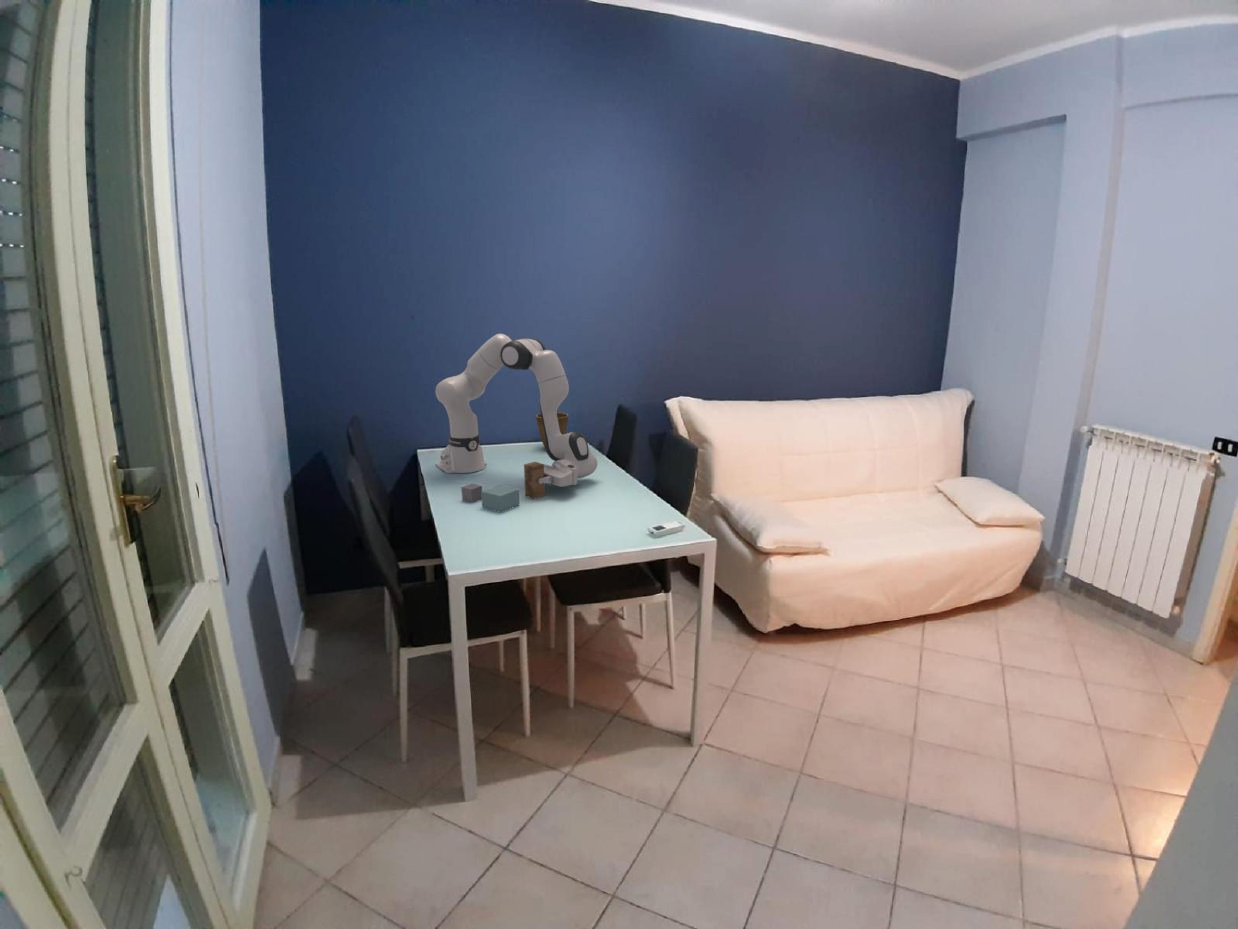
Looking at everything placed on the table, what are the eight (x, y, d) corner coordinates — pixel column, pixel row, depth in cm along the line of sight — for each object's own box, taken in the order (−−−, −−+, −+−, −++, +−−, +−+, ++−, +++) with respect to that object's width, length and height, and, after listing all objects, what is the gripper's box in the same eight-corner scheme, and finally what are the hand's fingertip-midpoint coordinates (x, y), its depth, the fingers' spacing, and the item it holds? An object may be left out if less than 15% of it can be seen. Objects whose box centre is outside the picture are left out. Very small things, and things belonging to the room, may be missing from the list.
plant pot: (571, 451, 283) (571, 417, 279) (539, 453, 279) (538, 419, 275) (565, 443, 297) (564, 411, 292) (535, 445, 293) (533, 412, 288)
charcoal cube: (462, 500, 218) (461, 487, 216) (473, 496, 222) (472, 483, 220) (472, 503, 215) (471, 489, 213) (482, 499, 219) (481, 485, 217)
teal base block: (482, 507, 210) (481, 491, 209) (500, 500, 218) (499, 484, 216) (501, 513, 206) (500, 496, 204) (519, 505, 213) (518, 489, 211)
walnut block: (525, 496, 222) (524, 464, 219) (536, 492, 225) (535, 461, 222) (534, 499, 219) (532, 467, 215) (544, 495, 222) (543, 464, 219)
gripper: (543, 458, 235) (514, 465, 226) (579, 468, 222) (550, 476, 212) (544, 473, 237) (515, 481, 227) (579, 485, 223) (550, 494, 214)
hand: (532, 479), depth 220 cm, fingers closed on walnut block, 5 cm apart
